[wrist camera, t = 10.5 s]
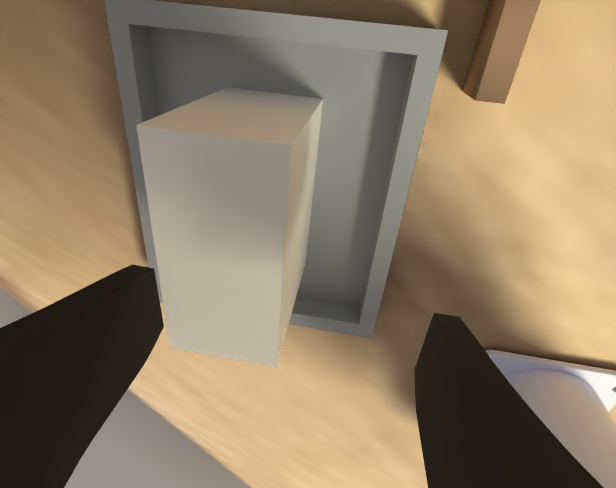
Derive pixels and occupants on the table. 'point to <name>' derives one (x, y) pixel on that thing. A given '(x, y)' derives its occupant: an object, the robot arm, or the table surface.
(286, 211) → the beige rectangular block
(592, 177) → the table surface
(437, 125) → the table surface
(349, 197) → the grey tray
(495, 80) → the walnut dock
